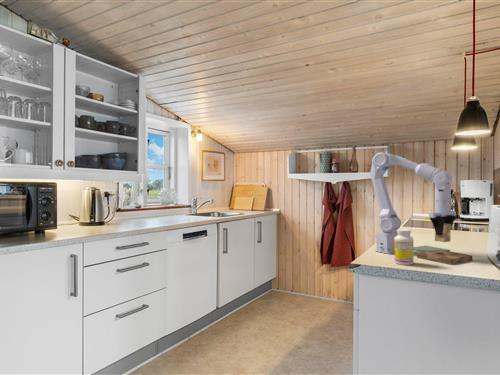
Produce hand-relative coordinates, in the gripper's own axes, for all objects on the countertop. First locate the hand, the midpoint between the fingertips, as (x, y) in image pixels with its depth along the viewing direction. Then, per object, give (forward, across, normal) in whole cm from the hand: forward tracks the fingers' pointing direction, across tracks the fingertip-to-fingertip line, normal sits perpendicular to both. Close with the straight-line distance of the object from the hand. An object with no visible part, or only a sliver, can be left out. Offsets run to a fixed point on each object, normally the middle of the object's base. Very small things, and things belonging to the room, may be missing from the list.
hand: (442, 234), depth 142 cm
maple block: (+3, 0, 0) cm, 3 cm away
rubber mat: (+10, +11, +14) cm, 20 cm away
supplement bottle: (+10, -21, +2) cm, 23 cm away
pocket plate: (+10, -1, -1) cm, 10 cm away
